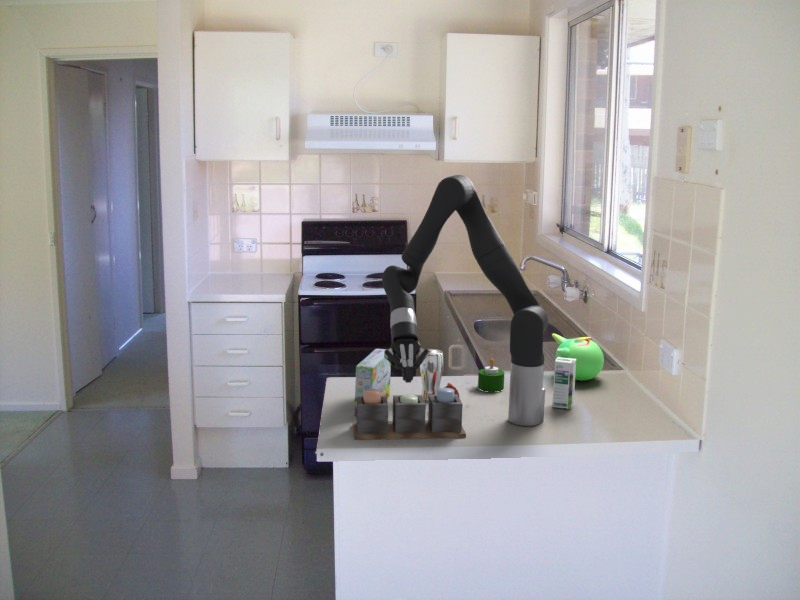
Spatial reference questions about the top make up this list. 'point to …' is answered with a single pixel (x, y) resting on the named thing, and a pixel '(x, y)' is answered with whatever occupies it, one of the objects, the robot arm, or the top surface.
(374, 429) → the button board
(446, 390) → the pale blue rounded piece
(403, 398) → the sage button
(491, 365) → the candle
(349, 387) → the top surface
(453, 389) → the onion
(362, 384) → the snack box
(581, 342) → the toy bird
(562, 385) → the syrup box
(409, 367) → the robot arm
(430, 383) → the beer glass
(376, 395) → the terracotta button
